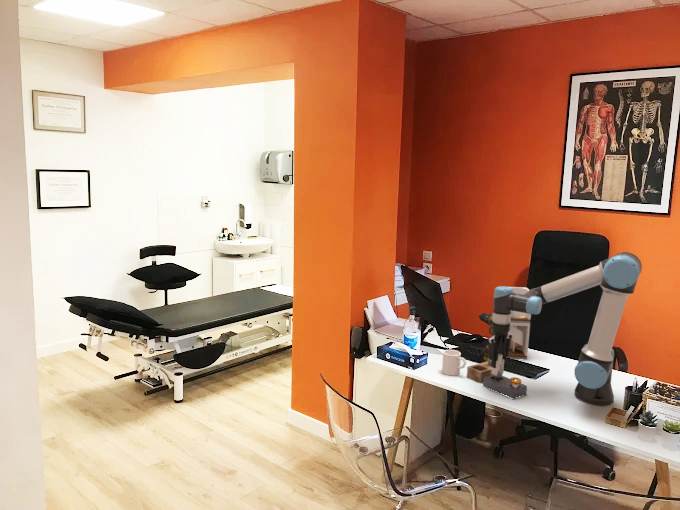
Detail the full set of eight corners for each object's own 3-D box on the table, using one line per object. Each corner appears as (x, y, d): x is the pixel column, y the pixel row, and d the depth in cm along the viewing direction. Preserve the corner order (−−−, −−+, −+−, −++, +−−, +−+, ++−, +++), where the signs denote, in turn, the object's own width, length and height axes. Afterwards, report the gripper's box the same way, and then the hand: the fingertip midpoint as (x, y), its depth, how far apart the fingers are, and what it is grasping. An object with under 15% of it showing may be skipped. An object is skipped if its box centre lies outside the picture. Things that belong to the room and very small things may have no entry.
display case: (500, 351, 284) (505, 286, 278) (520, 352, 283) (526, 287, 277) (505, 358, 273) (511, 291, 267) (527, 359, 272) (532, 292, 266)
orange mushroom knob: (522, 393, 229) (523, 380, 228) (515, 395, 226) (516, 382, 225) (513, 389, 232) (515, 376, 231) (507, 392, 230) (508, 378, 229)
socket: (526, 394, 230) (527, 386, 229) (512, 399, 225) (513, 390, 224) (496, 381, 243) (497, 373, 242) (483, 386, 238) (483, 377, 237)
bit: (501, 386, 237) (504, 354, 234) (496, 388, 235) (499, 355, 233) (496, 384, 240) (498, 352, 237) (491, 385, 238) (493, 353, 235)
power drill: (480, 354, 277) (483, 308, 273) (508, 367, 261) (512, 317, 257) (469, 357, 273) (472, 310, 269) (497, 369, 257) (501, 319, 253)
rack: (502, 376, 249) (503, 358, 248) (480, 383, 241) (481, 363, 240) (488, 370, 256) (490, 352, 254) (466, 377, 248) (468, 358, 246)
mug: (460, 379, 245) (461, 359, 243) (438, 372, 253) (439, 352, 251) (470, 375, 250) (471, 355, 248) (448, 367, 259) (449, 348, 257)
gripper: (506, 317, 240) (502, 367, 244) (481, 322, 231) (478, 374, 235) (520, 321, 234) (516, 372, 238) (495, 327, 225) (491, 380, 229)
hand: (497, 373), depth 236 cm, fingers closed on bit, 3 cm apart
